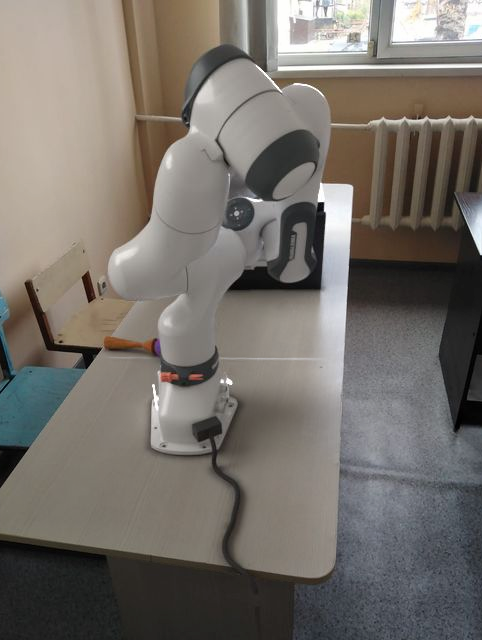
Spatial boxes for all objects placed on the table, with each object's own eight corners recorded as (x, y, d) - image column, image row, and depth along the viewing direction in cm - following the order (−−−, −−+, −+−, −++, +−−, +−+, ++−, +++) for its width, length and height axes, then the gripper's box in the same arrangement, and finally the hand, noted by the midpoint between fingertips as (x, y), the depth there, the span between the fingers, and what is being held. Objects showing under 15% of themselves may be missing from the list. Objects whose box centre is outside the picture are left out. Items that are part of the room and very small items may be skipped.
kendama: (112, 327, 140) (182, 332, 133) (115, 349, 142) (184, 355, 135) (99, 335, 134) (171, 341, 128) (102, 357, 137) (173, 364, 130)
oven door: (321, 302, 156) (327, 227, 137) (185, 302, 160) (172, 229, 141) (320, 286, 161) (325, 211, 142) (188, 287, 165) (176, 214, 146)
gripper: (290, 231, 119) (290, 254, 133) (199, 232, 121) (208, 254, 135) (290, 258, 118) (290, 278, 131) (198, 258, 120) (207, 278, 134)
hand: (248, 266), depth 133 cm, fingers closed
